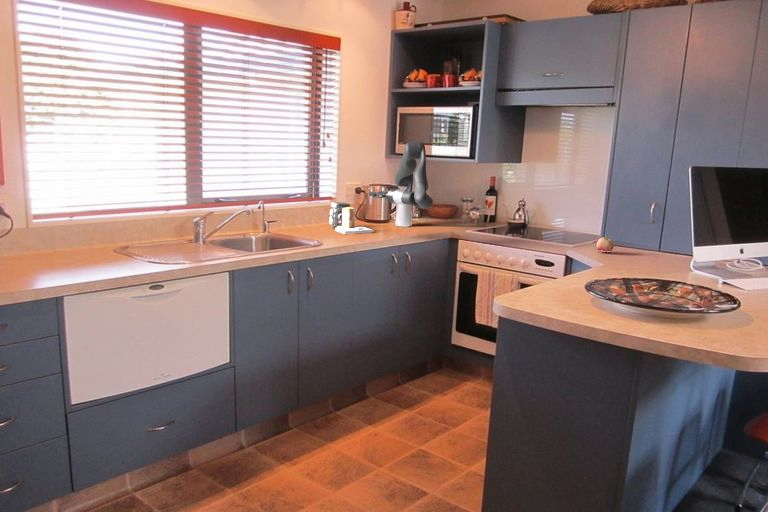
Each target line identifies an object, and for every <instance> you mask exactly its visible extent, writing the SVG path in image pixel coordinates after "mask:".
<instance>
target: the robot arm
mask: <svg viewBox="0 0 768 512" xmlns="http://www.w3.org/2000/svg"><path fill="white" fill-rule="evenodd" d="M426 155H427V154H426V146H425V143H424V142H423V141H411V142H410V141H409V142H406V143H405V145H404V149H403V154H402V158H401V161H400V164H399V168H398V169H397V172H396V174H395V176H394V182H395V185H396V186H398V187H404V188H405V187H406V189H397V188H390V189H389V190H378V191H369V192H368V196H371V197H372V198H377V199H383V200H386V199H387V201H388V202H389V203H392V204H396V205H395V207H396V208H395V210H396V211H395V226H396V227H405V228H406V227H412V224H413V210H412V206H414V207H415V208H419V209H422V210H423V209H424V210H425V209H430V208H431V207H432V205H433V204H434V203H433V199H432V197H431V196H430V195H428V193H427V191H428V190H429V183H428V182H429V181H428V178H427V177H428V176H427V156H426ZM417 160H419V164H418V163H417ZM417 165H418V166H417ZM413 186H414V187H413ZM413 188H414V191H413Z"/></svg>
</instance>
